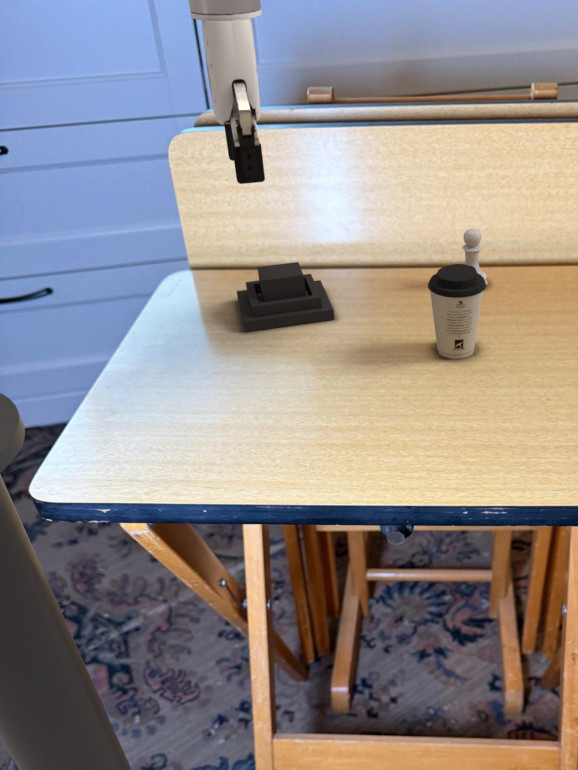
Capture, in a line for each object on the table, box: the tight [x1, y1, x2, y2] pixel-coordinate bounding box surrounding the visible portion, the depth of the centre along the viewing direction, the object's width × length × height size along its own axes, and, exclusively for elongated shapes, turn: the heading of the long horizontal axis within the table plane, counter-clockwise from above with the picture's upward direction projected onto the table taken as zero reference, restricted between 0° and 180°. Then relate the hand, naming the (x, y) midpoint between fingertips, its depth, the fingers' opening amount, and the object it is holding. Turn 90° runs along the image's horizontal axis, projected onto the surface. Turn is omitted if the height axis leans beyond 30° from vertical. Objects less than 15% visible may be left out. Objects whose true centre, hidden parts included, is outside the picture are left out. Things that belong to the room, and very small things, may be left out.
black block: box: [257, 261, 306, 302], centre depth 108 cm, size 6×5×4 cm
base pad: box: [236, 273, 335, 333], centre depth 109 cm, size 12×10×3 cm
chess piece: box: [461, 228, 488, 286], centre depth 112 cm, size 5×5×8 cm
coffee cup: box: [427, 263, 487, 360], centre depth 97 cm, size 7×7×10 cm
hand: (246, 170), depth 95 cm, fingers open, 9 cm apart
